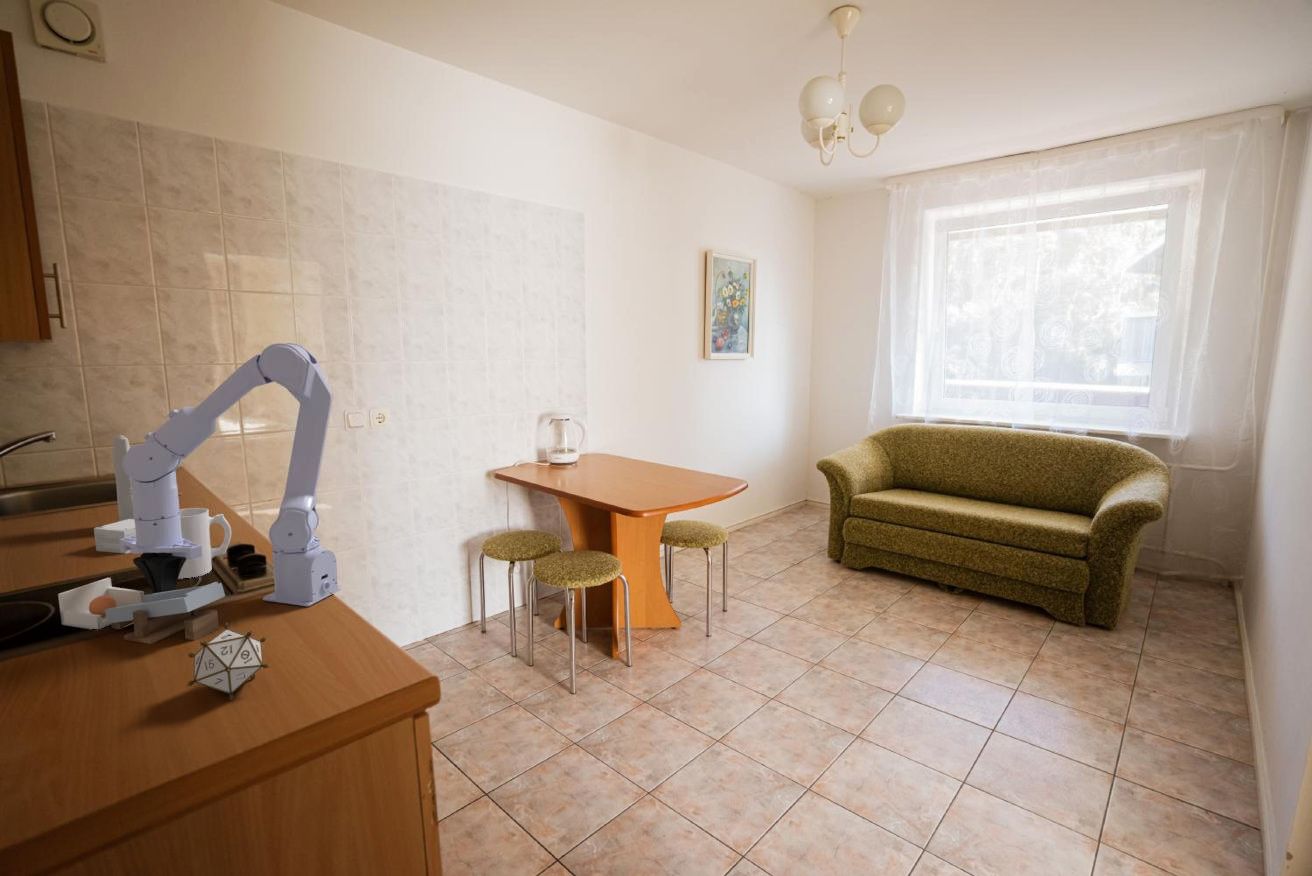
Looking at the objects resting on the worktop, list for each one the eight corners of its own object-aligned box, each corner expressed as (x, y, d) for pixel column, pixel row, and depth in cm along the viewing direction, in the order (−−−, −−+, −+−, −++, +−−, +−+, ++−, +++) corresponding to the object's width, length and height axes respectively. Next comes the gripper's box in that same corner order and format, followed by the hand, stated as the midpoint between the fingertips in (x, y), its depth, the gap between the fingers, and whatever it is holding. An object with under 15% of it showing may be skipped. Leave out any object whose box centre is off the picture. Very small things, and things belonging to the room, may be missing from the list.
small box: (162, 543, 133) (160, 520, 132) (125, 554, 126) (123, 530, 125) (132, 540, 135) (130, 517, 134) (94, 551, 127) (91, 528, 126)
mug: (168, 582, 111) (162, 519, 110) (169, 571, 117) (163, 511, 115) (235, 571, 118) (230, 511, 116) (233, 561, 123) (228, 504, 121)
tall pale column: (148, 530, 141) (138, 436, 138) (125, 534, 138) (115, 438, 135) (135, 521, 147) (125, 432, 144) (112, 525, 144) (102, 433, 141)
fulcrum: (233, 621, 97) (231, 595, 96) (176, 648, 88) (174, 619, 87) (159, 610, 100) (156, 584, 100) (96, 635, 91) (93, 607, 91)
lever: (247, 586, 98) (243, 571, 98) (187, 612, 89) (182, 595, 88) (173, 598, 102) (169, 583, 102) (108, 623, 93) (103, 607, 92)
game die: (225, 711, 80) (221, 635, 83) (287, 688, 80) (280, 614, 84) (168, 715, 71) (166, 631, 75) (237, 689, 72) (231, 607, 75)
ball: (123, 600, 98) (109, 588, 98) (101, 608, 95) (87, 596, 95) (117, 615, 98) (103, 603, 99) (95, 623, 95) (80, 611, 96)
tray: (146, 611, 99) (142, 582, 99) (98, 630, 93) (94, 599, 92) (111, 606, 101) (107, 577, 100) (61, 624, 94) (58, 594, 94)
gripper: (95, 518, 96) (104, 599, 98) (168, 526, 93) (175, 611, 95) (142, 507, 103) (149, 583, 105) (211, 515, 99) (217, 593, 101)
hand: (164, 595), depth 100 cm, fingers closed
